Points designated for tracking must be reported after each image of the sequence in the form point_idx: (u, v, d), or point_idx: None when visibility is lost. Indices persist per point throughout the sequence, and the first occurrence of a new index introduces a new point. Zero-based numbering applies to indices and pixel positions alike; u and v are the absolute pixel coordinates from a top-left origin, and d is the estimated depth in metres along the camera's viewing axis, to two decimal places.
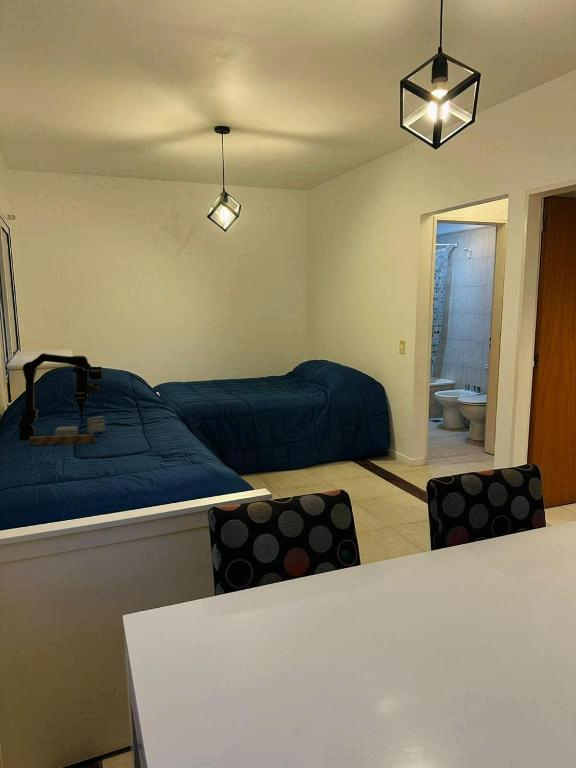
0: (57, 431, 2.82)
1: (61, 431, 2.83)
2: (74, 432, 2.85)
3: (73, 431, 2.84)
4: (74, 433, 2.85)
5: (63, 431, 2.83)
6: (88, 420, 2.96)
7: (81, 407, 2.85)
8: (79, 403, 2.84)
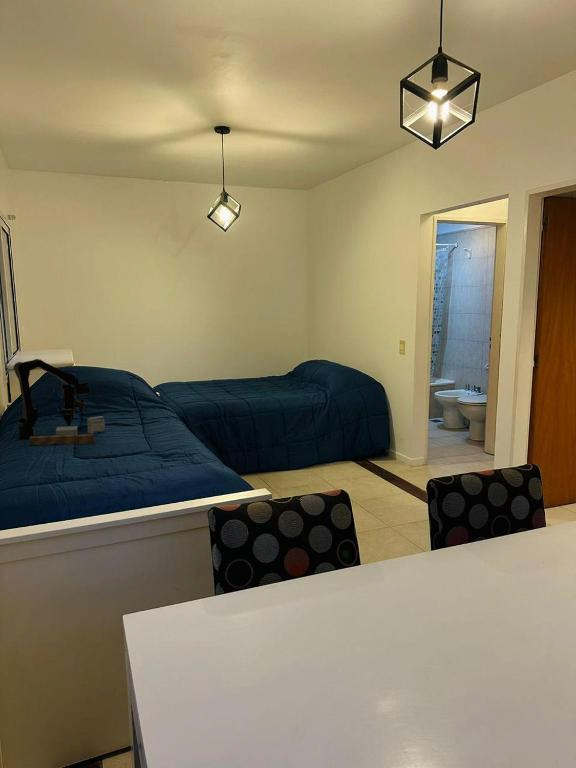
0: (57, 431, 2.82)
1: (62, 431, 2.83)
2: (75, 432, 2.85)
3: (74, 431, 2.85)
4: (75, 433, 2.85)
5: (64, 431, 2.83)
6: (88, 420, 2.96)
7: (68, 423, 2.96)
8: (66, 419, 2.95)
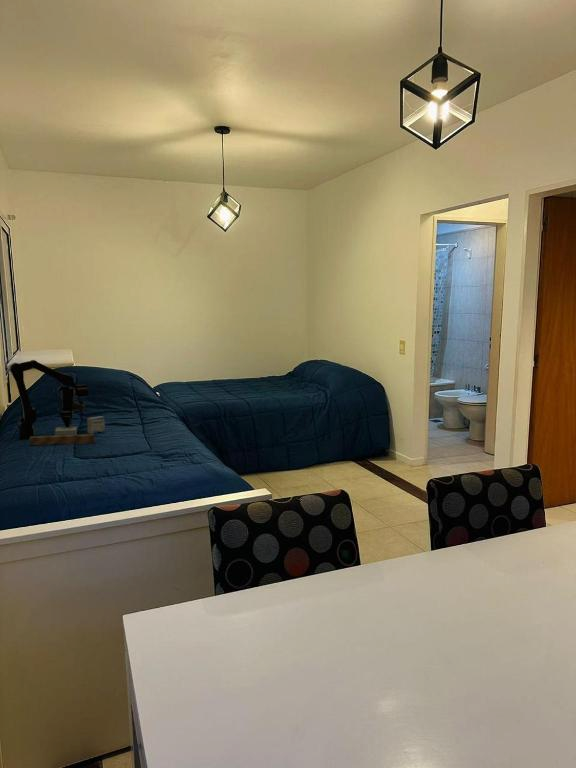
0: (57, 432, 2.81)
1: (61, 432, 2.82)
2: (74, 432, 2.84)
3: (73, 431, 2.83)
4: (74, 433, 2.84)
5: (63, 431, 2.82)
6: (88, 420, 2.96)
7: (67, 425, 2.90)
8: (65, 421, 2.89)
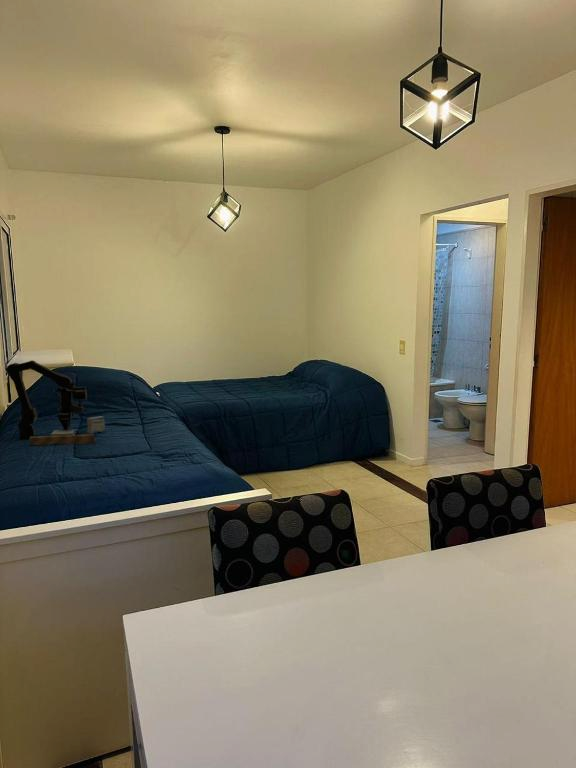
0: (53, 435, 2.74)
1: (57, 435, 2.75)
2: None
3: None
4: None
5: None
6: (88, 420, 2.96)
7: (65, 428, 2.84)
8: (63, 424, 2.83)
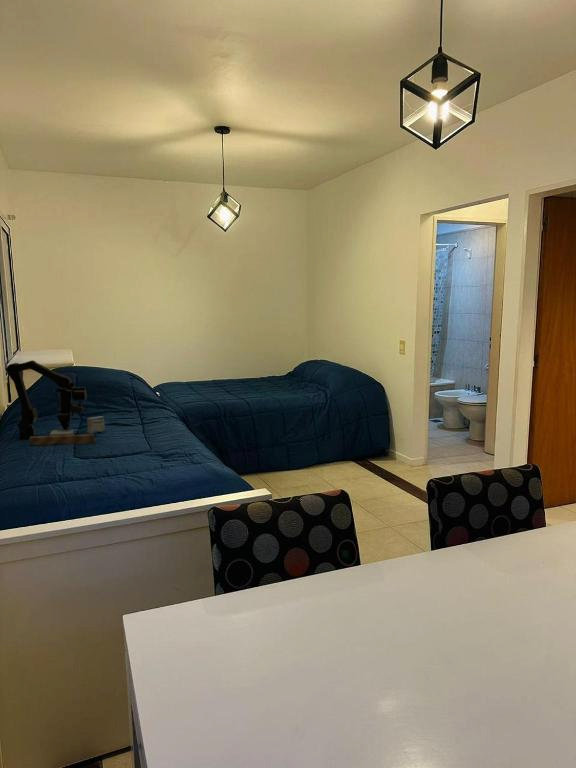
0: (52, 435, 2.73)
1: (56, 435, 2.74)
2: None
3: None
4: None
5: (58, 435, 2.74)
6: (88, 420, 2.96)
7: (65, 428, 2.83)
8: (63, 424, 2.82)
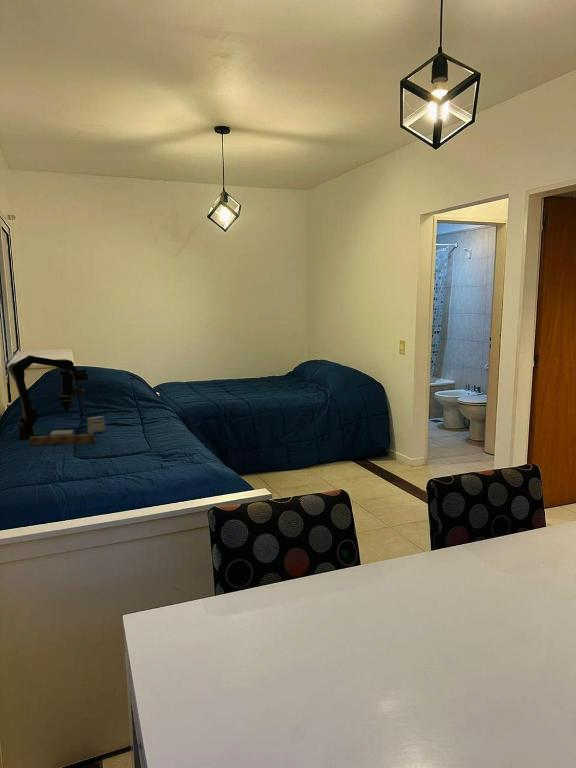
0: (51, 435, 2.74)
1: (56, 435, 2.74)
2: None
3: None
4: None
5: (58, 435, 2.74)
6: (88, 420, 2.96)
7: (66, 409, 2.93)
8: (64, 405, 2.92)
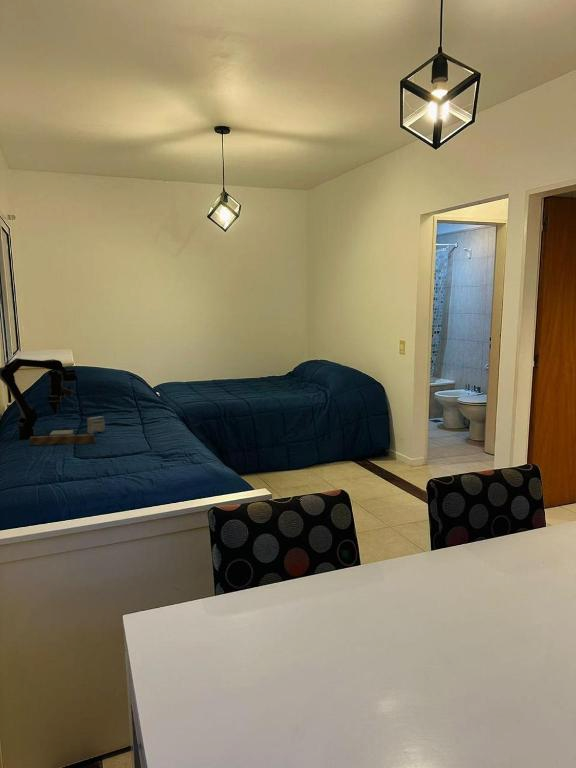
0: (51, 435, 2.74)
1: (55, 435, 2.74)
2: None
3: None
4: None
5: (58, 435, 2.74)
6: (88, 420, 2.96)
7: (55, 410, 2.89)
8: (52, 406, 2.88)
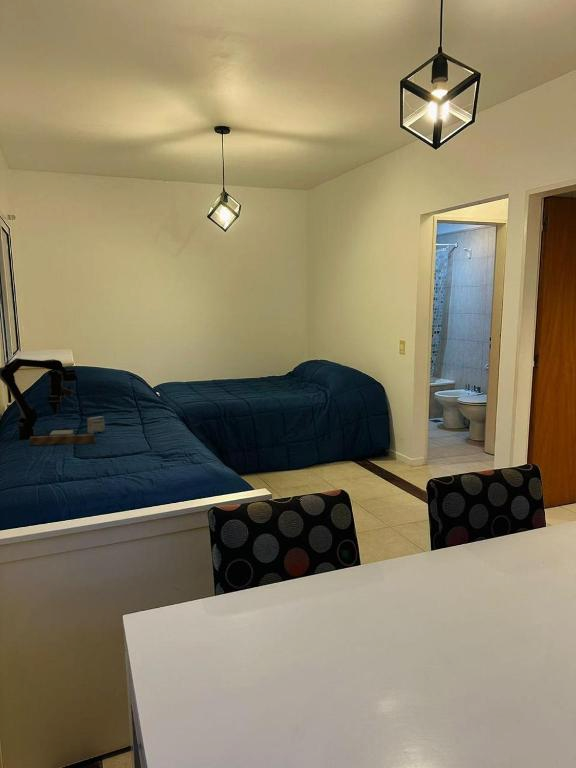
0: (51, 435, 2.74)
1: (55, 435, 2.74)
2: None
3: None
4: None
5: (58, 435, 2.74)
6: (88, 420, 2.96)
7: (55, 410, 2.89)
8: (52, 406, 2.88)
